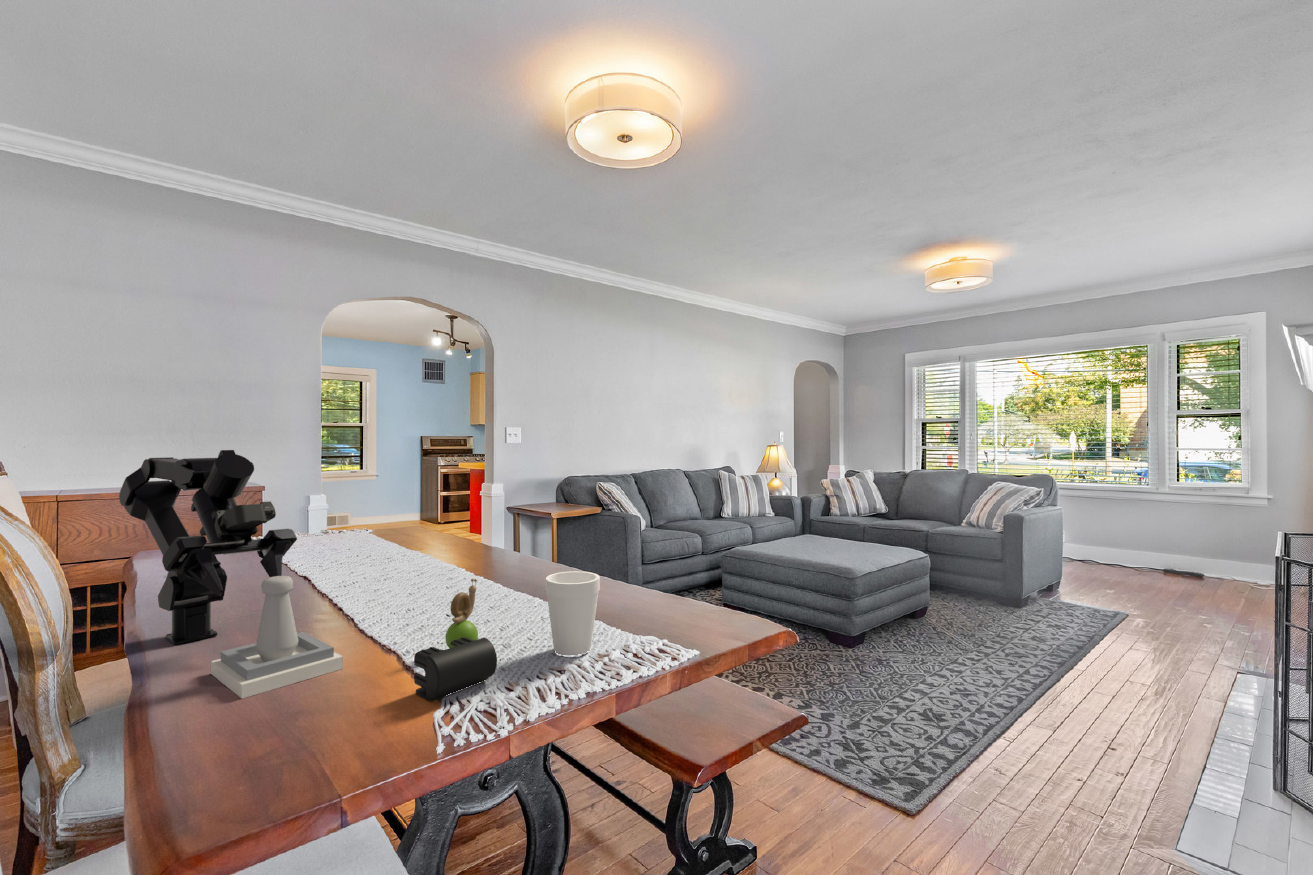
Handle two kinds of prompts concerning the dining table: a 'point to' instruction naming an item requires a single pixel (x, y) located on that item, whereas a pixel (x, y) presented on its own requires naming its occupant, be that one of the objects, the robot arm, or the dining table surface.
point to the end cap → (454, 667)
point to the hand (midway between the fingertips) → (251, 588)
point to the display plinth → (274, 666)
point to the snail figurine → (462, 617)
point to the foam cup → (572, 610)
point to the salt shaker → (277, 620)
